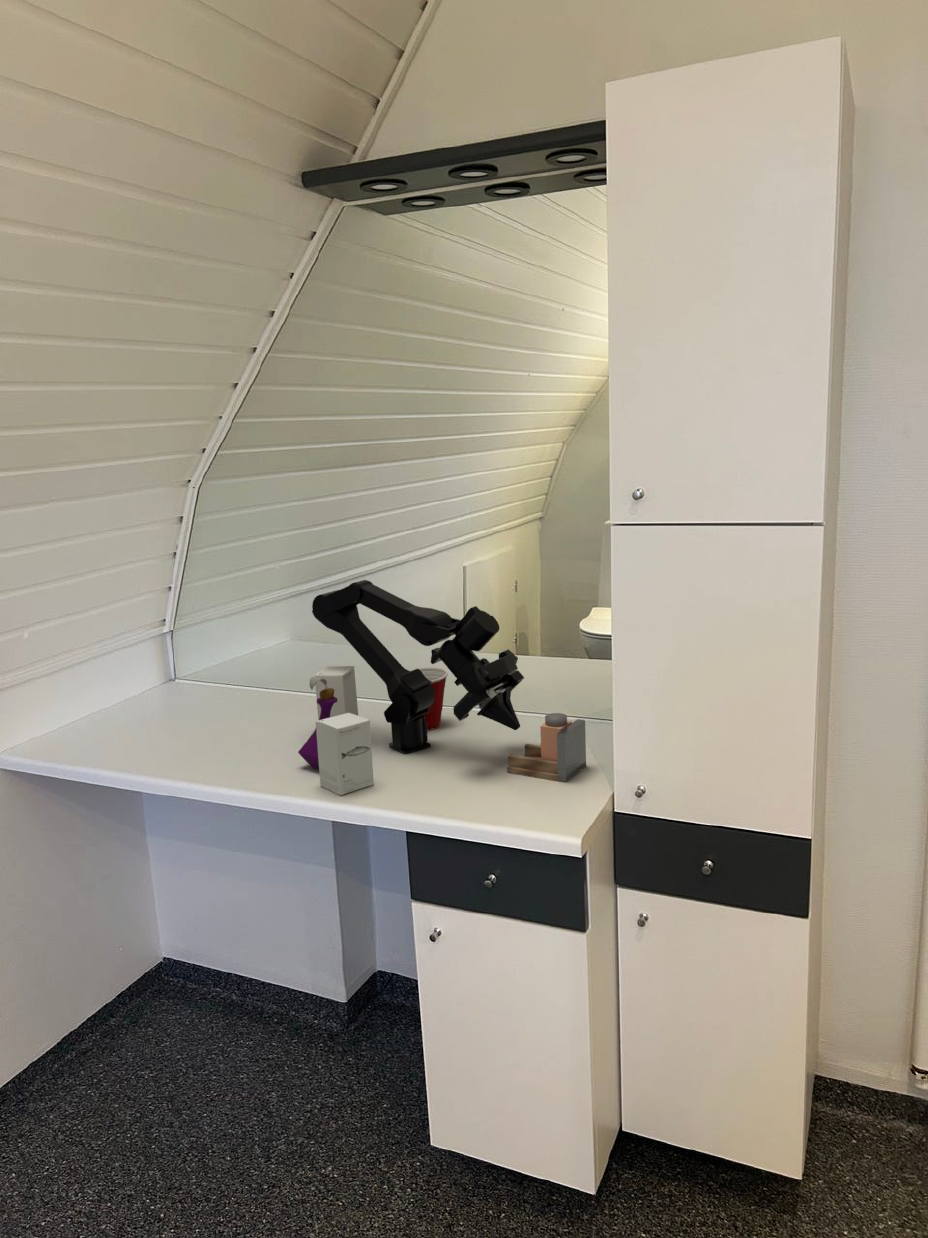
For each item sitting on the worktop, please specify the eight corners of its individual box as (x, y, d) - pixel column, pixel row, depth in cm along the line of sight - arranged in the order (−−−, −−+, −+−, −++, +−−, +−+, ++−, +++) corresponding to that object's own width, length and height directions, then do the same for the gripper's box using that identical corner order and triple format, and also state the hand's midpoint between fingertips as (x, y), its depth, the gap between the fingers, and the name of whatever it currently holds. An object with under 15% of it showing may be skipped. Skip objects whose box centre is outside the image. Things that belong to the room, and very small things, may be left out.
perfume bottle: (327, 756, 188) (320, 669, 184) (353, 764, 183) (347, 674, 179) (298, 768, 182) (291, 678, 179) (324, 775, 177) (317, 683, 174)
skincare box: (348, 749, 192) (343, 675, 189) (318, 748, 193) (312, 675, 190) (361, 735, 200) (356, 664, 197) (331, 735, 201) (326, 664, 198)
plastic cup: (391, 727, 205) (387, 674, 202) (429, 715, 212) (426, 664, 209) (422, 737, 197) (419, 682, 194) (461, 725, 204) (458, 672, 201)
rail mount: (507, 772, 175) (505, 726, 173) (529, 757, 182) (527, 712, 180) (565, 782, 168) (564, 734, 167) (586, 766, 176) (585, 720, 174)
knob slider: (541, 767, 173) (540, 718, 171) (553, 759, 177) (552, 711, 175) (561, 771, 171) (560, 721, 169) (572, 762, 175) (571, 713, 173)
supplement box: (340, 796, 167) (335, 728, 164) (319, 786, 172) (314, 720, 170) (375, 785, 171) (370, 719, 169) (353, 775, 177) (348, 711, 174)
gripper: (465, 650, 168) (521, 717, 165) (513, 629, 184) (566, 690, 181) (430, 688, 174) (483, 753, 171) (480, 664, 190) (530, 723, 186)
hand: (518, 728), depth 177 cm, fingers closed
